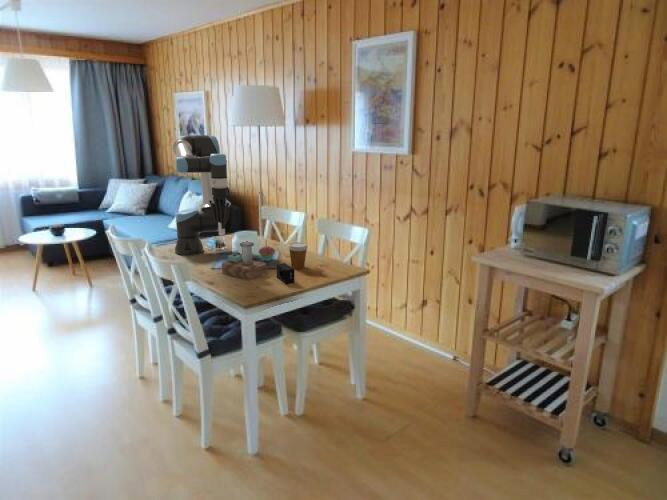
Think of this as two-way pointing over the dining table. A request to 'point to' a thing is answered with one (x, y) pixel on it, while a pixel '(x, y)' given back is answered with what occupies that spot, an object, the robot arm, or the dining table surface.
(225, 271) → the hitch block
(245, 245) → the grey stone pillar
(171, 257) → the dining table surface
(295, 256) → the disposable coffee cup
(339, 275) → the dining table surface
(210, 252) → the dining table surface
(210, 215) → the robot arm
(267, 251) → the cupcake
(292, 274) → the digital camera
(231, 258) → the keeper
